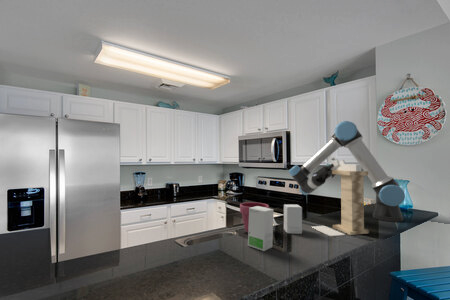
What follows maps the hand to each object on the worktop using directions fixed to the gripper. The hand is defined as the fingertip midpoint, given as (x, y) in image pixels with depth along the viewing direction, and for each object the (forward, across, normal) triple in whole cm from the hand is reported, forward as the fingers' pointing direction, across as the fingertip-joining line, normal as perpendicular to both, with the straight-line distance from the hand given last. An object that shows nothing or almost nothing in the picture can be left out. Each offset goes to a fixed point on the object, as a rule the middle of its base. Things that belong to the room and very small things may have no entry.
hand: (341, 162), depth 127 cm
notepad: (-14, +12, -32) cm, 37 cm away
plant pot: (-23, +47, -27) cm, 59 cm away
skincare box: (-4, +53, -37) cm, 65 cm away
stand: (-12, 0, -33) cm, 35 cm away
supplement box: (-17, +29, -30) cm, 45 cm away
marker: (-1, 0, -4) cm, 4 cm away
